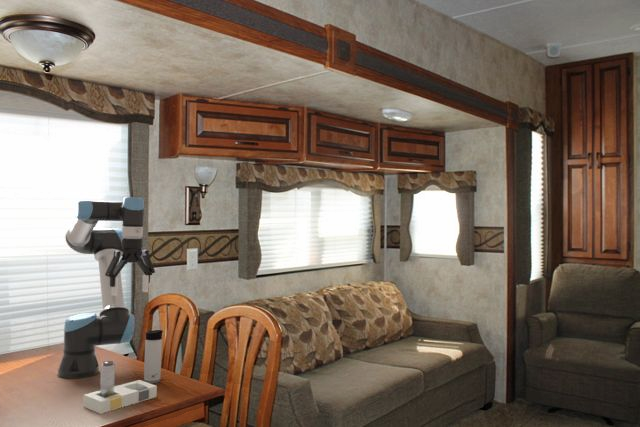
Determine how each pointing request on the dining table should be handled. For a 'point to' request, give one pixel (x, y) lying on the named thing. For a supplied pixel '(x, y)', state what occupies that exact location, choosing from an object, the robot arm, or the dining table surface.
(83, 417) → the dining table surface
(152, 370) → the travel mug
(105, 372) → the plug
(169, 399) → the dining table surface
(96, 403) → the socket board
